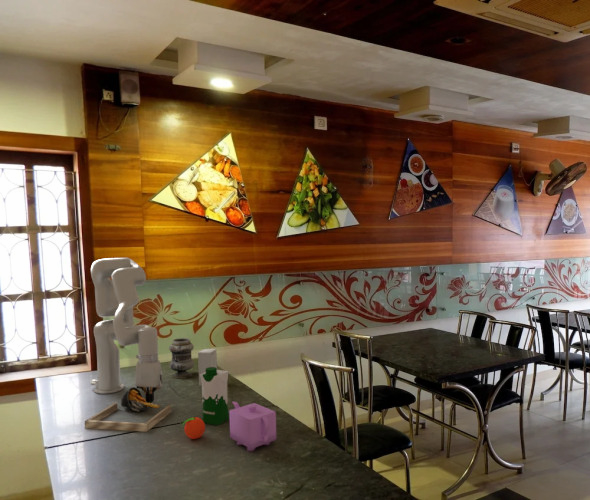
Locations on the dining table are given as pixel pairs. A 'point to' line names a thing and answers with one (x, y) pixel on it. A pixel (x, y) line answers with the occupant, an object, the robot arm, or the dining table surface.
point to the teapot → (252, 425)
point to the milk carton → (214, 396)
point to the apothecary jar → (181, 357)
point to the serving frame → (128, 426)
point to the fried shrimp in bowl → (136, 401)
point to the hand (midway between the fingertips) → (149, 402)
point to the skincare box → (206, 361)
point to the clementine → (194, 427)
